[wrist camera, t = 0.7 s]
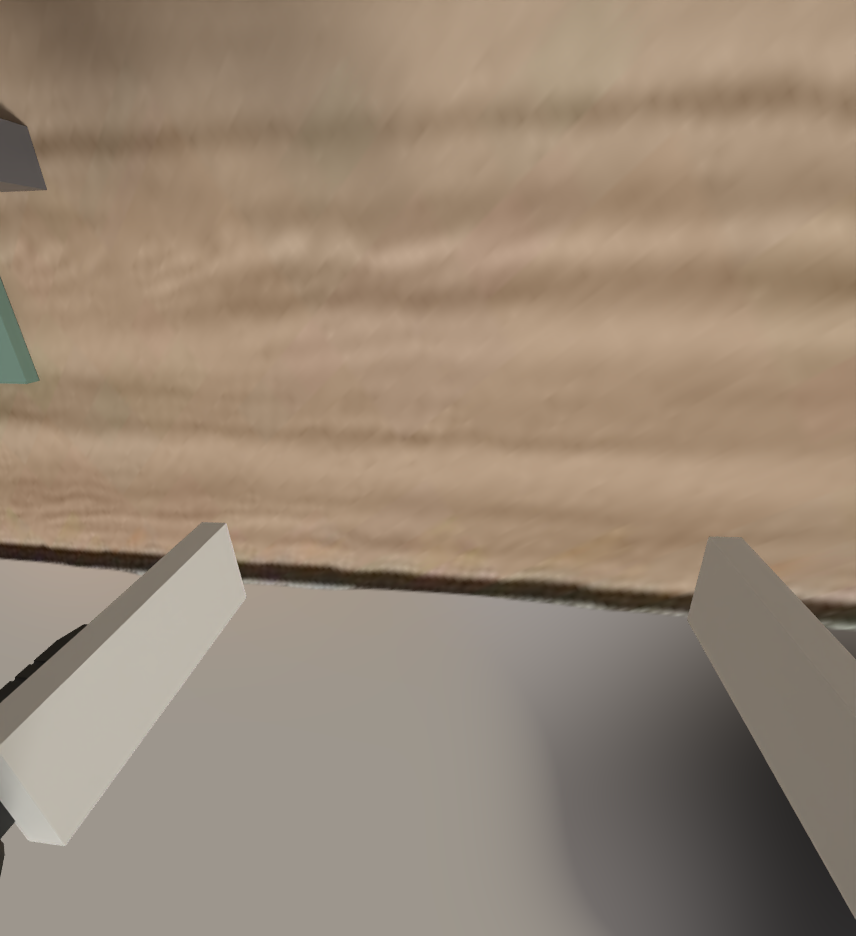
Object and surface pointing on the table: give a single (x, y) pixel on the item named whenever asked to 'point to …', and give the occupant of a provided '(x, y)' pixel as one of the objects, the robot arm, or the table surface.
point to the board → (13, 347)
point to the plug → (18, 160)
